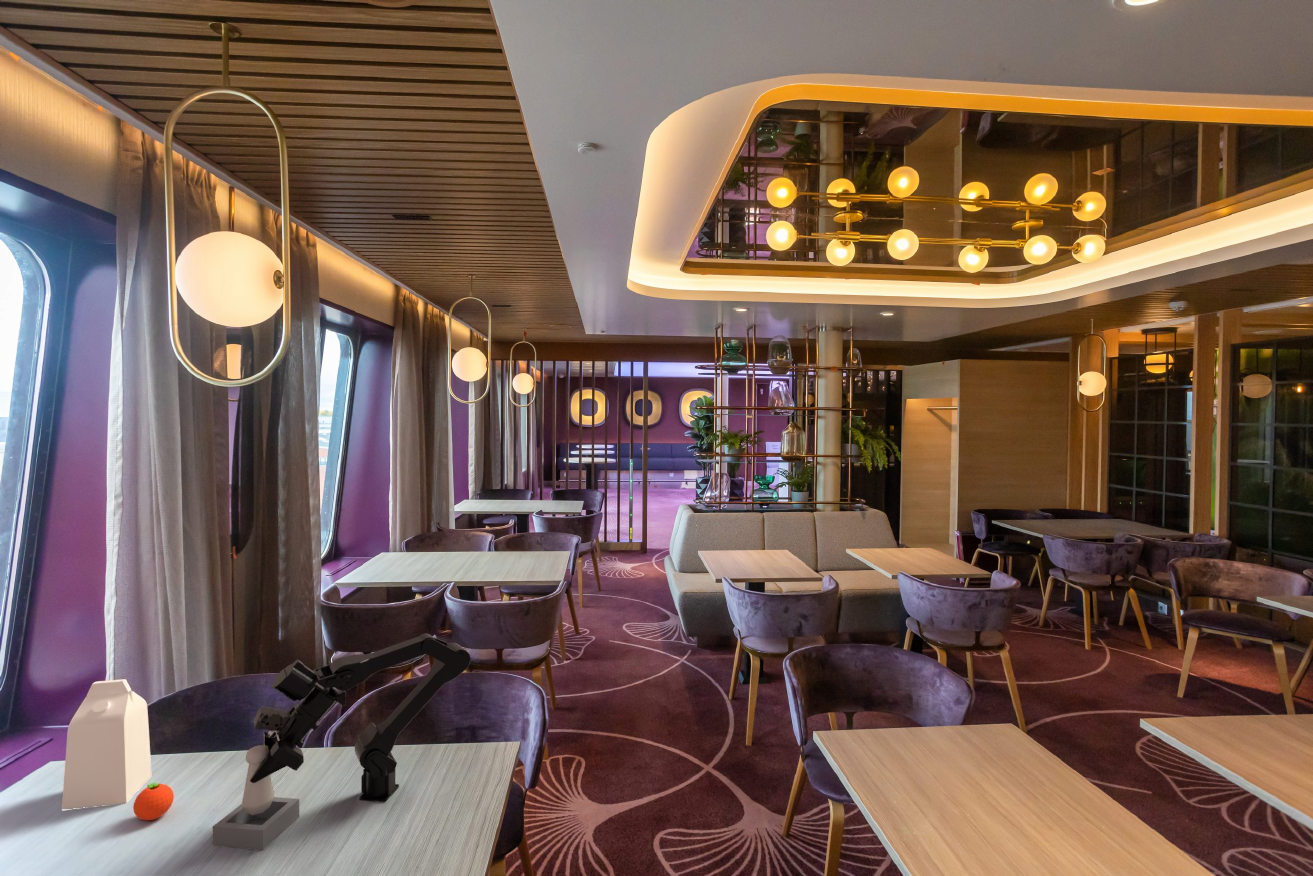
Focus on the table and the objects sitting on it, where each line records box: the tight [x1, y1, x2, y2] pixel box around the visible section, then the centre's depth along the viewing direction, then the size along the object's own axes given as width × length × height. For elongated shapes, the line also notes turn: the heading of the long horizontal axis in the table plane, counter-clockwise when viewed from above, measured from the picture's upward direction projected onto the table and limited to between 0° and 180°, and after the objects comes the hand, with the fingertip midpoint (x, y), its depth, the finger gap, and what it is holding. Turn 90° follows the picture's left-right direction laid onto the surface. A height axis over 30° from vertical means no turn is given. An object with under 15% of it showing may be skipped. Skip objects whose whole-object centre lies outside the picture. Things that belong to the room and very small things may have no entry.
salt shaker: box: [241, 744, 275, 815], centre depth 133 cm, size 6×6×13 cm
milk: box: [61, 678, 153, 810], centre depth 146 cm, size 12×12×26 cm
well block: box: [212, 796, 300, 851], centre depth 133 cm, size 11×11×4 cm
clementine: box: [132, 782, 175, 821], centre depth 138 cm, size 8×7×7 cm
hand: (250, 778), depth 132 cm, fingers closed on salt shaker, 3 cm apart
